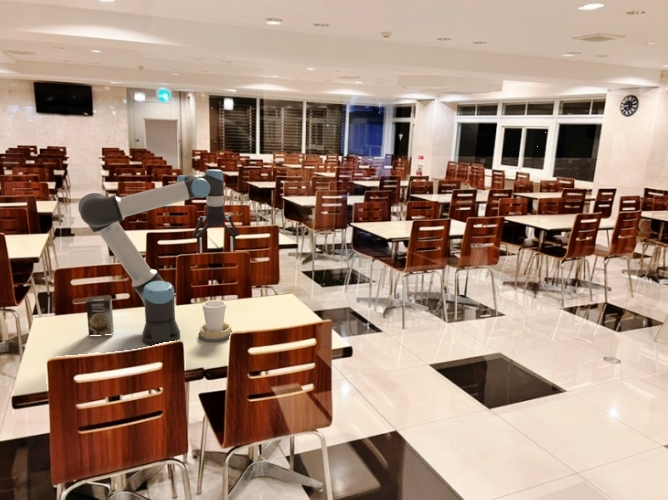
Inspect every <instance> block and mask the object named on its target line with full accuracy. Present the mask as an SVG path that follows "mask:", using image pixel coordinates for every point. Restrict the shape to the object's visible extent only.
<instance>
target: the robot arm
mask: <svg viewBox="0 0 668 500" xmlns="http://www.w3.org/2000/svg"><path fill="white" fill-rule="evenodd" d="M224 182H225V180H224V171H223V170H221V169H215V168H214V169H206V170H205V173H204V174H179V175H178V176H177V179H176V183H171V184H168V185H163V186H160V187H155V188H152V189H147V190H144V191H141V192H136V193H132V194H128V195H123V196H122V197H121V196H120V197H118V196H116V195H113V196H109V197H106V196H105V195H103V194H101V193H98V192H92V193H88V194H85V195H84V196H83V197H82V198H81V199H80V200H79V202H78V209H77V210H78V213H79V215H80V218H81V220H82V221H83V222H84V223H85V224H87V226H88V227H89V228H90V230H91V232H93V233H94V234H99V235H100V237H101V238H102V239H103V241H104V242H105V244H106V245H107V246H108V248H109V249H110V251H111V252H112V253H113V255H114V256H115V257H116V259H117V261H118V262H119V263H120V264H121V266H122V267H123V269H124V270H125V271H126V273H127V274H128V275H129V277H130V279H131V280H132V282H131V286H132V288H133V289H134V290H135V292H136V294H138V296H139V298H140V299H141V301H142V303H143V305H144V316H145V324H144V327H143V330H142V333H141V339H142V343H143V344H145V345H149V346H153V345H155V344H159V343H163V342H169V341H175V340H178V341H179V340H180V339H181V331H180V328H179V325H178V323H177V321H176V311H175V309H176V308H175V289H174V286H173V285H172V283H171V282H169V281H165V280H164V279H163V278H162V276H161V275H160V273H159V272H158V270H156V269H153V268H151V267H150V266H149V264H148V263H147V262H146V260H145V259H144V257H143V256H142V254H141V253H140V251H139V250H138V249H137V247H136V245H135V244H134V243H133V241H132V240H131V238H130V237H129V235H128V234H127V233H126V231H125V230H124V228H123V227H122V225H121V224H120V222H121V221H125V219H126V217H129V216H133V215H137V214H139V213H144V212H147V211H152V210H154V209H158V208H162V207H165V206H169V205H173V204H176V203H180V202H184V201H187V200H192V199H195V198H200V199H201V198H206V200H205V202H206V216H202V215H199V219H198V220H199V221H198V223H197V225H196V226H195V228H194V231H193V233H192V238H195V239H196V245H197V246H199V253H200V254H203V244H202V243H203V242H202V236H203V235H204V234H205V232H206V231H207V230H208V229H209V228H210V227H220V226H222V227H223V228H224V229H225V230H226V231H227V232H228V234H230V235H231V236H230V252H231V253H233V252H234V245H235V244H236V237H239V236H240V232H239V231H238V229H237V227H236V225H235V223H234V221H233V217H232V215H230V214H229V215H225V205H224V204H225V195H224V194H225V193H224V191H225V190H224V186H225V185H224ZM225 220H227V221H228V222H229V224H230V225H231V228H232V229H233V231H234V232H233V231H232V230H231V228H229V227H228V226H227V224H226V223H224V222H225ZM205 221H207V222H206V224H205V225H204V227H202V229H201V230H200V228H201V226H202V225H203V222H205ZM199 230H200V232H199Z"/></svg>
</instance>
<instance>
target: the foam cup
mask: <svg viewBox="0 0 668 500" xmlns="http://www.w3.org/2000/svg"><path fill="white" fill-rule="evenodd" d="M226 308H227V303H226V301H224V300H217V299H213V300H212V299H211V300H207V301H204V302H203V303H202V311H203V315H204V322H205V324H206V328H207V332H221V331H223V325H224V322H225V315H226V314H225V313H226V310H227V309H226Z"/></svg>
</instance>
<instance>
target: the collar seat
mask: <svg viewBox="0 0 668 500" xmlns="http://www.w3.org/2000/svg"><path fill="white" fill-rule="evenodd" d="M231 332H232V333H233V329H232V326H231V324H229V323H227V322H225V321H224V325H223V331H221V332H207V328H206V323H204V324H202V325H201V326H200V327H199V332H198V338H199V340H201V341H204V342H207V343H218V342H224V341H226V340H229V339H230V338H229V336H230V333H231Z"/></svg>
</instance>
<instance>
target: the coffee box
mask: <svg viewBox="0 0 668 500" xmlns="http://www.w3.org/2000/svg"><path fill="white" fill-rule="evenodd" d="M112 302H113V298H112V296H111V295H110V296H95V297H94V296H93V297H92V296H91V297H88V298H87V300H86V301H85V304H86V316H87V318H86V319H87V328H88V339H97V338H98V339H99V338H112V337H113V335H114V333H115V330H113V329H115V328H114V317H113V304H112ZM112 332H113V333H112ZM105 334H112V335H105ZM89 335H101V336H89Z"/></svg>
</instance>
